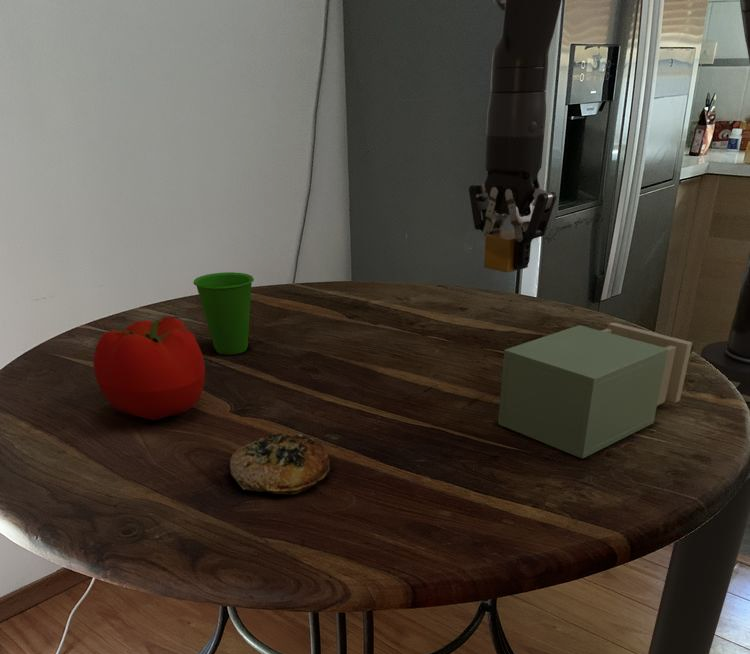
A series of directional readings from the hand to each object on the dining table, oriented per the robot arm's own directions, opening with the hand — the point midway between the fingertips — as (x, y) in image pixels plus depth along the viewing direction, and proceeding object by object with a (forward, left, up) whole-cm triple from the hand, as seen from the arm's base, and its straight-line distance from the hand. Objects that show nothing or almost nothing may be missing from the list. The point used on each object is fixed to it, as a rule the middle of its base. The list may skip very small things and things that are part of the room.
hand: (505, 265), depth 104 cm
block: (0, 0, 0) cm, 0 cm away
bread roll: (+45, -10, -14) cm, 48 cm away
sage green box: (+18, +16, -14) cm, 28 cm away
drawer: (+8, +20, -13) cm, 25 cm away
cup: (+13, -40, -14) cm, 44 cm away
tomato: (+37, -34, -14) cm, 52 cm away
